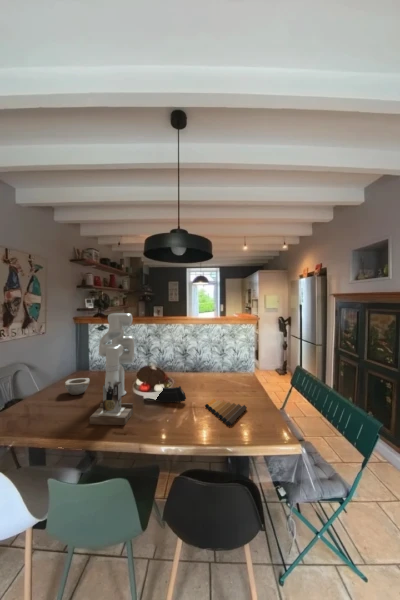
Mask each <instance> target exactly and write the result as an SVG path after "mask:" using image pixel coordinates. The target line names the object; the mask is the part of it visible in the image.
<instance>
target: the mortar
mask: <svg viewBox="0 0 400 600" xmlns="http://www.w3.org/2000/svg"><path fill="white" fill-rule="evenodd" d="M90 382H91V381H90V378H89V377H79V378H69V379H67V380H66V381H65V382H64V386H65V389H66V390H67V392H68V393H69V394H70V395H74V396H76V395H77V396H78V395H83V393H85V391H86V390H87V389H88V388H89V387H88V386H89V385H90Z"/></svg>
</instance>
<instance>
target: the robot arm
mask: <svg viewBox="0 0 400 600" xmlns="http://www.w3.org/2000/svg"><path fill="white" fill-rule="evenodd" d="M133 321H134V320H133V315H132V313H127V312H126V313H125V312H122V313H121V312H120V313H119V312H118V313H117V312H114V313H113V312H112V313H109V314H108V316H107V322H108V331H107V332H106V333H105V334H104V335H102V336H101V339H100V341H99V346H98V354H99V356H100V357H101V358H105V376H104V378H105V381H104V384H105V389H106V400H112V389H113V388H114V385H115V384H116V383H117V382H121V397H123V396H125V395H127V391H126V390H125V368H124V367H123V365H130V364H133V363H134V361H135V340H134V338H133V337H132V336H129V335H128V336H127V335H125V330H124V328H123V327H129V326H132V324H133ZM109 341H111V344H110V343H108V342H109ZM109 387H111V388H109ZM109 389H111V390H109Z"/></svg>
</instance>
